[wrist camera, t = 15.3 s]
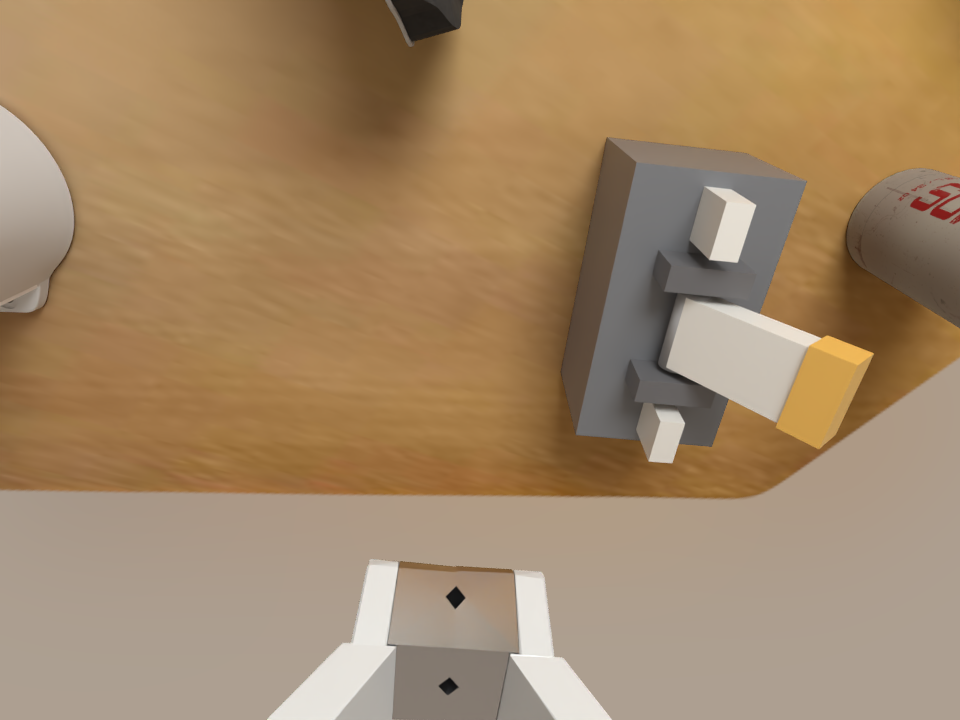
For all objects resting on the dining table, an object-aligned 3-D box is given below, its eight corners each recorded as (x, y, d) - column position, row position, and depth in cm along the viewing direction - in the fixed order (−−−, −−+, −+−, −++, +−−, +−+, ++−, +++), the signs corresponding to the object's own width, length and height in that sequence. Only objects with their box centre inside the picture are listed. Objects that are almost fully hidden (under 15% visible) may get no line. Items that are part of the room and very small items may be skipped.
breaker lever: (650, 364, 39) (818, 449, 32) (670, 289, 37) (858, 365, 30) (670, 355, 41) (835, 434, 34) (691, 282, 38) (874, 353, 31)
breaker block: (560, 372, 51) (583, 466, 40) (606, 137, 42) (652, 175, 31) (676, 383, 52) (729, 479, 41) (746, 153, 43) (839, 196, 32)
